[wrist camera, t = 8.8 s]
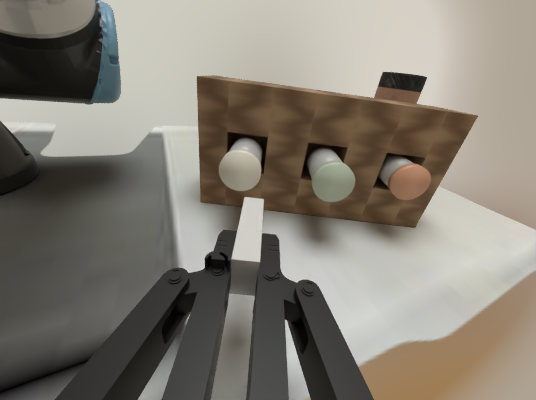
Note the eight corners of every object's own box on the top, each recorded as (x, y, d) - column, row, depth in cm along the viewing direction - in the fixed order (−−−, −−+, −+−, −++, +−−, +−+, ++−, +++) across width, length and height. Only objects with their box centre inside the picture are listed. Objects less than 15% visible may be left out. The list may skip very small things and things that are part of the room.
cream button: (218, 188, 24) (219, 149, 22) (229, 165, 30) (231, 132, 28) (258, 193, 24) (263, 154, 22) (261, 169, 30) (265, 137, 28)
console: (200, 202, 32) (196, 76, 24) (214, 179, 39) (214, 75, 31) (414, 227, 33) (478, 115, 25) (390, 200, 40) (434, 106, 32)
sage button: (308, 199, 24) (318, 161, 22) (302, 174, 30) (309, 142, 28) (347, 204, 25) (361, 167, 22) (333, 178, 31) (342, 147, 28)
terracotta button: (385, 197, 27) (400, 164, 25) (365, 175, 33) (376, 146, 31) (420, 202, 27) (438, 169, 25) (394, 178, 34) (406, 150, 31)
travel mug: (382, 185, 46) (429, 76, 36) (346, 174, 49) (379, 70, 39) (386, 174, 52) (426, 78, 42) (353, 165, 55) (384, 73, 45)
